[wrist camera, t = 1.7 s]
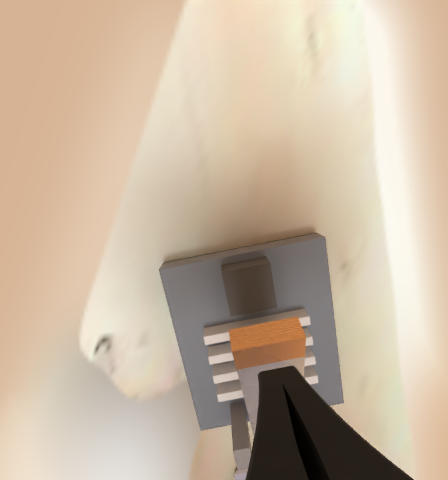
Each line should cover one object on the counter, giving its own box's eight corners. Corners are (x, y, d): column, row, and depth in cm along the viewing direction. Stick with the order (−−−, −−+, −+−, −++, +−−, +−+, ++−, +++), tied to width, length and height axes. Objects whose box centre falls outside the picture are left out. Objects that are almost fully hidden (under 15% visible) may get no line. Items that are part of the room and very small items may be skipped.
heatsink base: (334, 387, 22) (370, 448, 17) (201, 413, 22) (197, 481, 17) (316, 232, 19) (352, 250, 14) (163, 262, 19) (145, 291, 14)
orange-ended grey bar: (295, 420, 19) (300, 437, 18) (253, 428, 19) (256, 445, 18) (297, 316, 11) (306, 337, 11) (228, 329, 11) (231, 351, 11)
